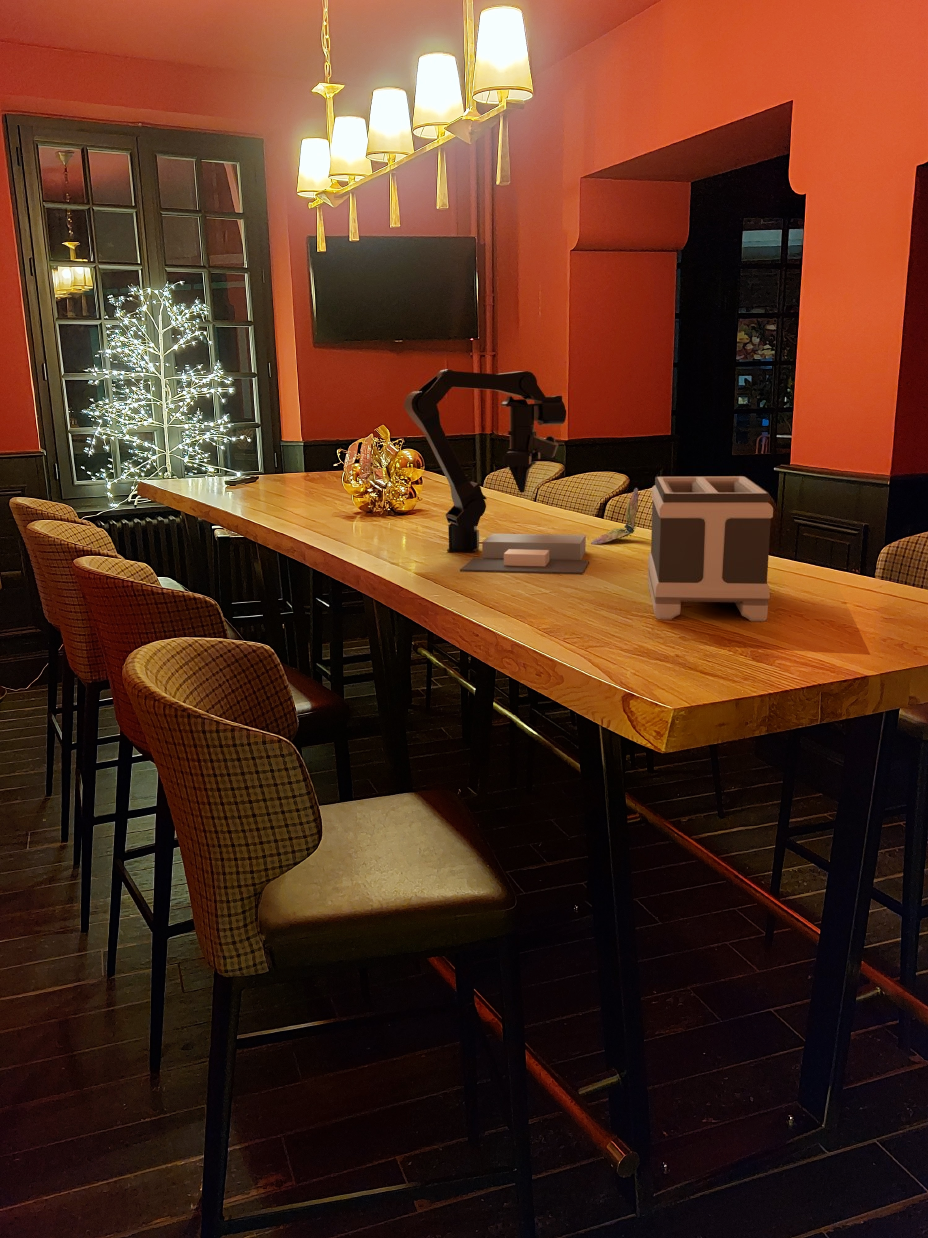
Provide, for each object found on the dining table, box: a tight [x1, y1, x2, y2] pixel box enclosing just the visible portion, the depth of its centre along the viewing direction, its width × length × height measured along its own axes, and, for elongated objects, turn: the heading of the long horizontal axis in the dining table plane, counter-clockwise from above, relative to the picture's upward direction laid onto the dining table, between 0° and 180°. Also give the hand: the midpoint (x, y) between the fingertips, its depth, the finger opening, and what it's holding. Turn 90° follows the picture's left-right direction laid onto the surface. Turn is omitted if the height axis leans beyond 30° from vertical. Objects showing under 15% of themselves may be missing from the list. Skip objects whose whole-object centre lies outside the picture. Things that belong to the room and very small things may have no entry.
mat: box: [459, 557, 590, 575], centre depth 206 cm, size 26×14×1 cm, turn 77°
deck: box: [481, 533, 587, 560], centre depth 219 cm, size 22×12×4 cm, turn 77°
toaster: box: [647, 475, 774, 622], centre depth 171 cm, size 18×34×21 cm, turn 172°
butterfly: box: [590, 487, 642, 545], centre depth 236 cm, size 17×10×10 cm
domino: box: [504, 549, 549, 566], centre depth 207 cm, size 9×6×3 cm, turn 77°
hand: (522, 492), depth 229 cm, fingers closed
